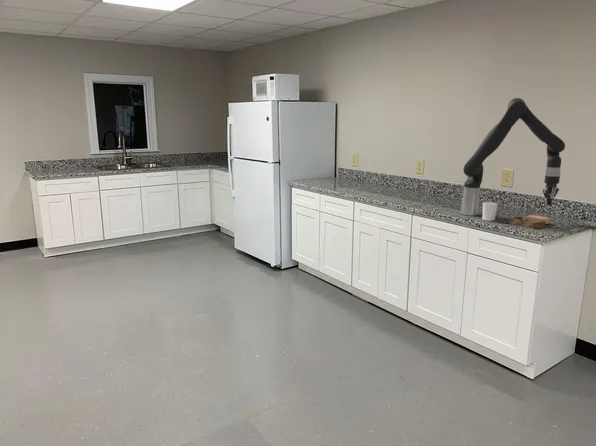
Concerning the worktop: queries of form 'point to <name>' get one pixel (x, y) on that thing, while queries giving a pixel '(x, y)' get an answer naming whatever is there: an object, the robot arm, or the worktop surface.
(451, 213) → the worktop surface
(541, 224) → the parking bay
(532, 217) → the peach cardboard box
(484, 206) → the white cup
